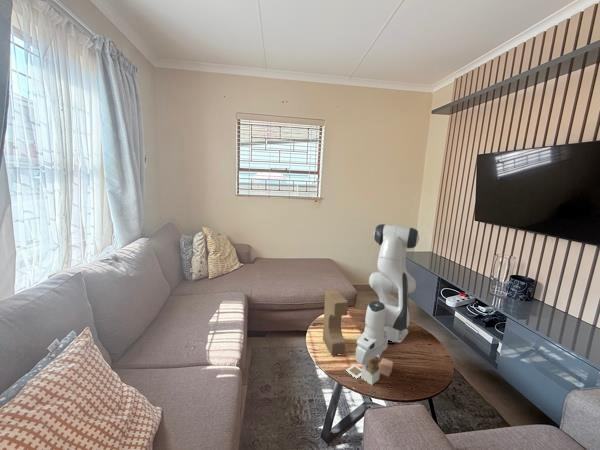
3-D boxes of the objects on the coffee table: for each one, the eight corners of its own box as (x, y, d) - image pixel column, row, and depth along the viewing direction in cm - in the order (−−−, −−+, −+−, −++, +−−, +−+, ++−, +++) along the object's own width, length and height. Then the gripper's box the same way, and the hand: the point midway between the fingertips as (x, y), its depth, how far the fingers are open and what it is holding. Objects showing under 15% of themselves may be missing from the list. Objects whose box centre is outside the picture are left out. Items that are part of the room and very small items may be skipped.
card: (354, 364, 137) (354, 363, 137) (365, 372, 132) (365, 371, 132) (345, 371, 133) (345, 369, 133) (356, 379, 127) (356, 378, 127)
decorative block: (344, 354, 145) (348, 302, 139) (331, 356, 143) (334, 303, 138) (334, 338, 159) (337, 290, 154) (322, 339, 157) (325, 290, 152)
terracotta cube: (381, 366, 137) (382, 357, 136) (392, 371, 134) (393, 361, 133) (378, 372, 133) (379, 363, 132) (389, 376, 130) (390, 367, 129)
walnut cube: (369, 363, 131) (370, 354, 130) (378, 369, 127) (379, 360, 126) (363, 368, 128) (363, 358, 127) (371, 374, 124) (372, 364, 123)
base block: (368, 372, 133) (369, 363, 132) (379, 379, 128) (380, 370, 127) (360, 378, 129) (361, 368, 128) (371, 385, 124) (372, 375, 123)
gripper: (380, 326, 134) (378, 351, 136) (354, 342, 120) (352, 369, 123) (392, 332, 129) (389, 358, 131) (366, 349, 116) (363, 377, 118)
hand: (371, 364), depth 127 cm, fingers open, 8 cm apart
